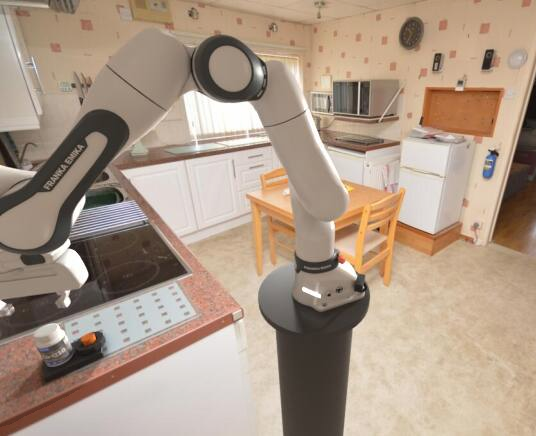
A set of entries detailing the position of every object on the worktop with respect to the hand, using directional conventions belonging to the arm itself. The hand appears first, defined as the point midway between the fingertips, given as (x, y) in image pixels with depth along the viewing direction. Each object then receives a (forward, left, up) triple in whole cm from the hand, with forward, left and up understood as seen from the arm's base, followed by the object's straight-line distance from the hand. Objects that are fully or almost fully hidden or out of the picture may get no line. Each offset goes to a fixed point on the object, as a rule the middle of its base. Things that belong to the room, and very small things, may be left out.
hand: (37, 309), depth 58 cm
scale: (-2, -1, -15) cm, 15 cm away
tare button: (-5, -2, -13) cm, 14 cm away
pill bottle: (0, 0, -14) cm, 14 cm away
